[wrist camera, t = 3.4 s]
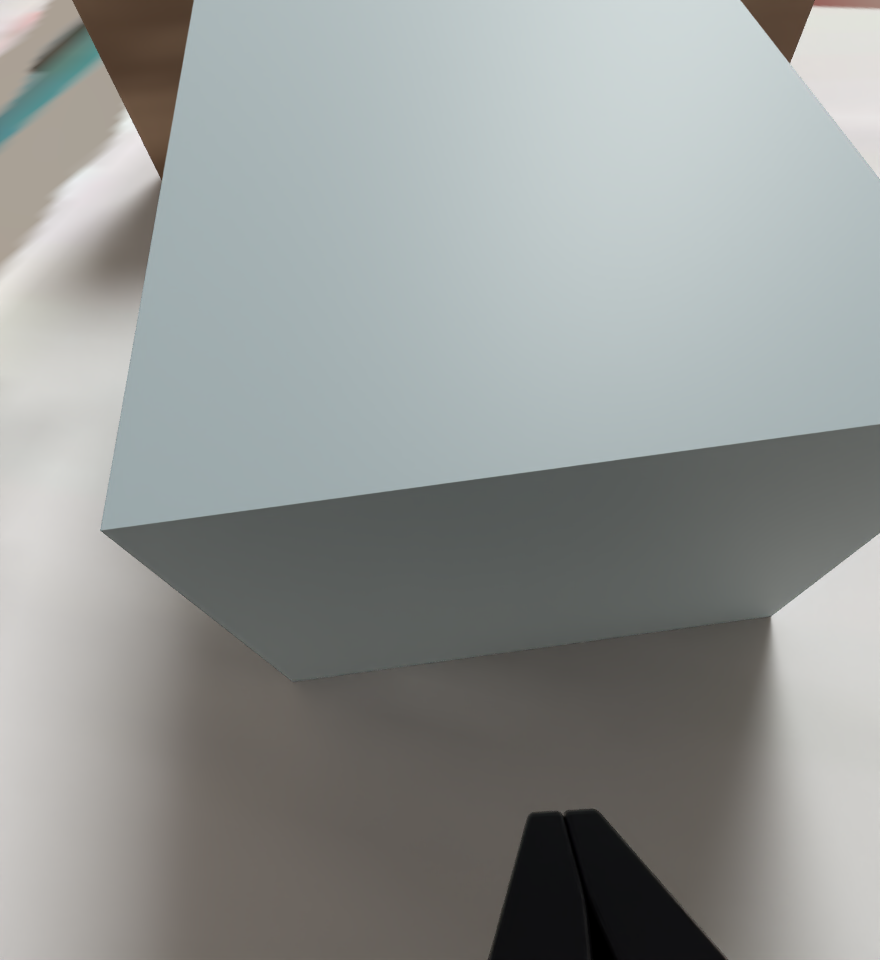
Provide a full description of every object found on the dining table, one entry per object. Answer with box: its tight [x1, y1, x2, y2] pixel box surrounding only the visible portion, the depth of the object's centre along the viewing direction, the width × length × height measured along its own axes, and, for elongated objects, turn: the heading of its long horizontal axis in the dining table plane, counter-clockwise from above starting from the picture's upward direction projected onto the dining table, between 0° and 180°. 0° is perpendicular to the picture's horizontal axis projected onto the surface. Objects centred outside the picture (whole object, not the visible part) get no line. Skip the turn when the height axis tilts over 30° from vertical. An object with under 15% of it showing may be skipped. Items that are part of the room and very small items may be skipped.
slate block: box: [100, 0, 880, 682], centre depth 16 cm, size 16×12×9 cm
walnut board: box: [72, 0, 815, 180], centre depth 23 cm, size 2×24×7 cm, turn 93°
